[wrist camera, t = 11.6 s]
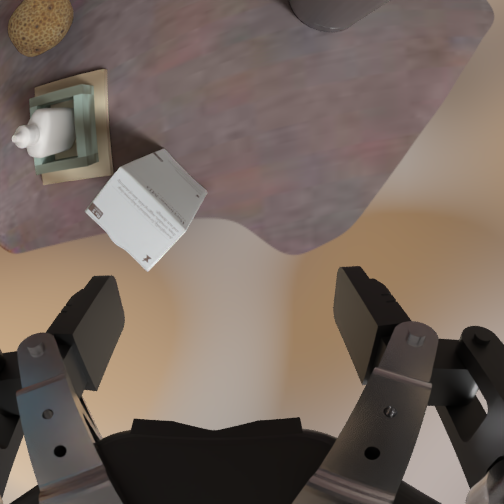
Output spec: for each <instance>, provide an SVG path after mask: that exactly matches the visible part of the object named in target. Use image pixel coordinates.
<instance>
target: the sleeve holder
mask: <svg viewBox="0 0 504 504" xmlns="http://www.w3.org/2000/svg"><path fill="white" fill-rule="evenodd" d="M29 103H30V118H31V116H32V115H33V113H34V112H35V111H36V110H38V109H43V108H62V107H67V108H74V118H75V131H76V139H75V141H74V144H73V145H72V147H71V148H70V149H69V150H67V151H63V152H60V153H57V154H53V155H50V156H46V157H43V158H36V157H34V163H35V170H36V175H39V174H42V179H43V185H47V184H53V183H60V182H66V181H73V180H80V179H87V178H94V177H102V176H110V175H113V174H114V172H113V163H112V153H111V142H110V129H109V114H108V93H107V69H101V70H96V71H92V72H88V73H84V74H80V75H76V76H72V77H68V78H65V79H61V80H58V81H54V82H51V83H48V84H45V85H42V86H38V87H35V97H34V98H31V99H29Z"/></svg>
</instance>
